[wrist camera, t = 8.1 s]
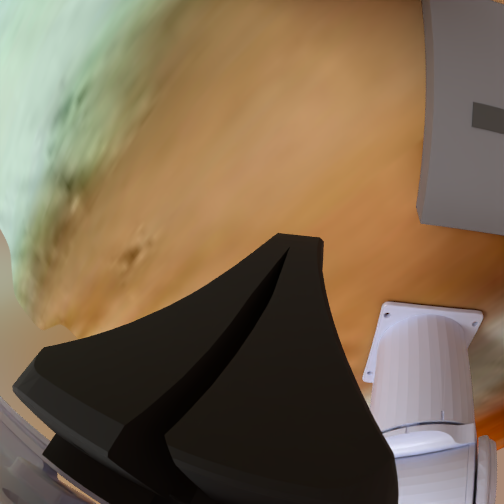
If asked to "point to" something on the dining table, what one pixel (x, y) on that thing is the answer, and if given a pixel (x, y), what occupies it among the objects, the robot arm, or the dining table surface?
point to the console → (463, 116)
